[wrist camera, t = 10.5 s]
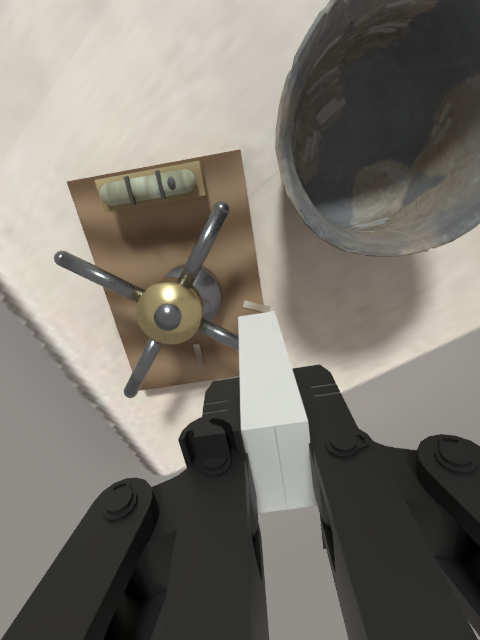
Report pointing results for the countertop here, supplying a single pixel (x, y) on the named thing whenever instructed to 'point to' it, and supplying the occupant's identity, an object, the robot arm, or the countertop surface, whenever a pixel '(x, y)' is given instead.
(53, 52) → the countertop surface
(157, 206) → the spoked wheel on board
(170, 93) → the countertop surface
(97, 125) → the countertop surface
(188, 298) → the cam capstan
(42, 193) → the countertop surface
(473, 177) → the grey stone bowl
